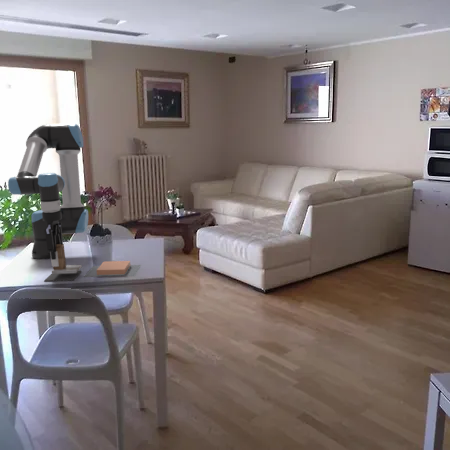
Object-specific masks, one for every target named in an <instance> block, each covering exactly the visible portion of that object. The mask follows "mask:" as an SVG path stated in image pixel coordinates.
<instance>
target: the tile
mask: <svg viewBox="0 0 450 450" xmlns="http://www.w3.org/2000/svg"><path fill="white" fill-rule="evenodd" d="M131 265H132V264H131V260H118V261H117V260H114V261H113V260H112V261H103V262H102V263H101V264H100V265H99V266H100V267H99V268H98V269H97V276H102V275H125V274H126V273H127V271H128V269H129V268H130V266H131Z"/></svg>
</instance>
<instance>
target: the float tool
mask: <svg viewBox="0 0 450 450" xmlns="http://www.w3.org/2000/svg"><path fill="white" fill-rule="evenodd" d="M64 244H65V243H63V244H56V251H57V253H58V262H59V266H57V267H52V268H53V269H52V271H51V274H57V273H76V272H77V271H80V269H81V268H82V267H83V266H82V264H71V265H70V264H67V261H66V254H65V253H66V252H65V245H64Z"/></svg>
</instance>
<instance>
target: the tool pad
mask: <svg viewBox="0 0 450 450" xmlns="http://www.w3.org/2000/svg"><path fill="white" fill-rule="evenodd" d="M81 273H82V270H78V271H77V272H76V273H57V274H52V273H51V274H50V275H48V276H47V277H46V278H45V279H43V281H44V282H45V283H47V282H49V283H50V282H73V281H75V280H76V279H77V278H78V276H80V274H81Z"/></svg>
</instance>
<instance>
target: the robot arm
mask: <svg viewBox="0 0 450 450" xmlns="http://www.w3.org/2000/svg"><path fill="white" fill-rule="evenodd" d="M25 146H26V149H25V152H24V155H23V157H22V161H21V164H20V167H19V170H18V172H17V174H16V175H17V176H12V177H9V179H8V181H7V187H8V191H9V193H10V194H11V195H17V196H18V195H20V196H21V195H23V196H24V195H38V194H39V199H40V210H36V211H34V212H32V214H31V226H32V227H31V228H32V235H33V247H32V249H31V256H32V258H33V259H37V260H48V259H50V261H51V267H52V268H53V267H57V266H59V262H58V253H57V251H56V244H64V240H63V235H67V234H68V235H70V234H75V235H76V234H84V233H85V232H86V231H87V229H88V224H89V210H88V209H85V205H84V204H83V203H82V199H81V187H80V171H79V157H78V155H79V154H80V153H81V148H84V138H83V134H82V130H81V128H80V126H79V124H77V123H52V124H50V123H46V124H41V125H40V126H38V127H37V128H35V129H34V130H33V131H31V133H30V134H29V135H28V136H27V139H26V141H25ZM47 149H48V150H49V149H55V153H57V154H58V156H59V157H58V158H59V168H60V174H57V173H55V172H43V173H39V174H38V171H39V169H40V166H41V162H42V159H43V156H44V153H46V151H47ZM60 192H61V195H62V196H61V197H62V202H61V199H60Z"/></svg>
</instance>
